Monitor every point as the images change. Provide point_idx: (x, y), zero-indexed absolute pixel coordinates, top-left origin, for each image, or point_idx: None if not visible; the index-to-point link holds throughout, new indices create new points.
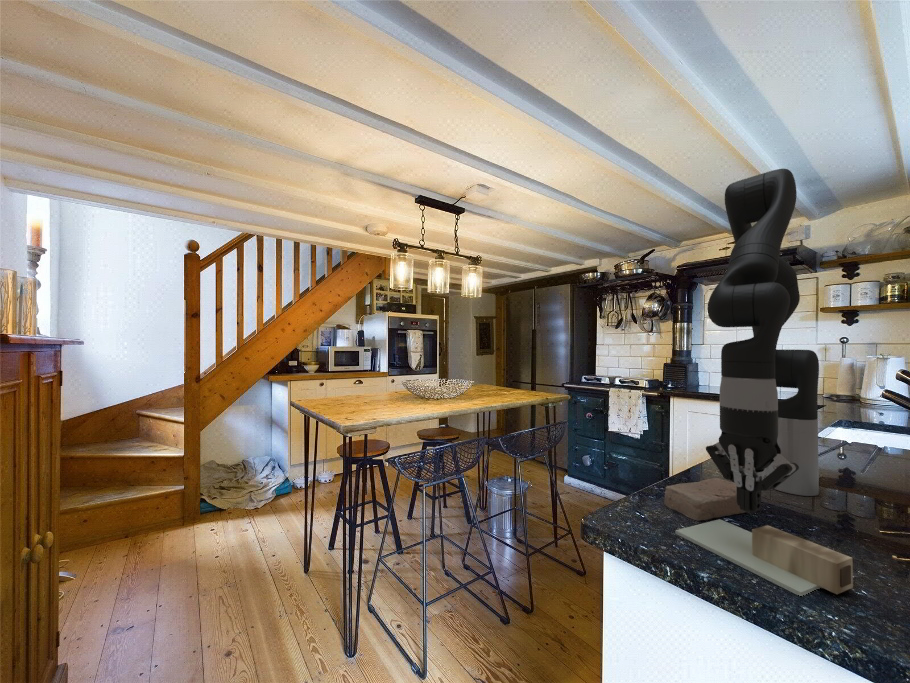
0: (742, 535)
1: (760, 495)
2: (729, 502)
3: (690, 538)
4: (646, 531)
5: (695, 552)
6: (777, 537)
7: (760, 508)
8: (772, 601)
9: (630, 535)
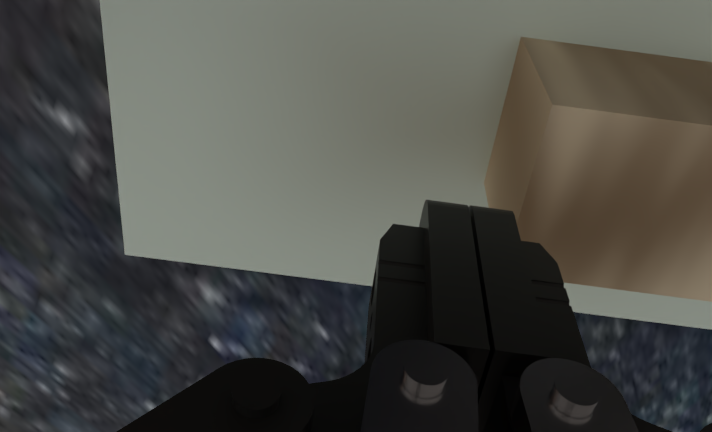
0: None
1: (579, 354)
2: None
3: (217, 263)
4: (67, 330)
5: (301, 326)
6: (650, 262)
7: (549, 259)
8: (631, 411)
9: (81, 407)
